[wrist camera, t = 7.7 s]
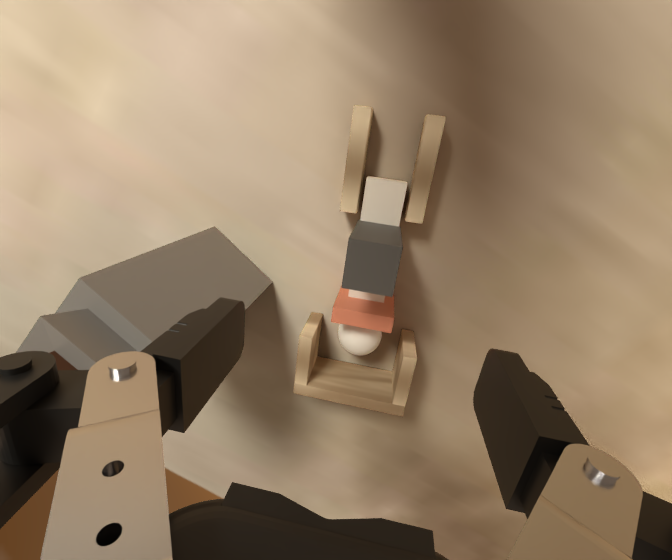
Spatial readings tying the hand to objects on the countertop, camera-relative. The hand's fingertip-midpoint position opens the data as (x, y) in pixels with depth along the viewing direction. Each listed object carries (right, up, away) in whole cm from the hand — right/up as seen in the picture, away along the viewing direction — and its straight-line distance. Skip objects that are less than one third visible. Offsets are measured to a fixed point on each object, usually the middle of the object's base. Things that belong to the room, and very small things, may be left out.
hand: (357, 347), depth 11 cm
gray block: (+3, +6, +16) cm, 17 cm away
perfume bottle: (-11, +2, +20) cm, 23 cm away
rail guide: (+3, +11, +14) cm, 18 cm away
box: (+1, -4, +19) cm, 20 cm away
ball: (+1, -2, +17) cm, 17 cm away
